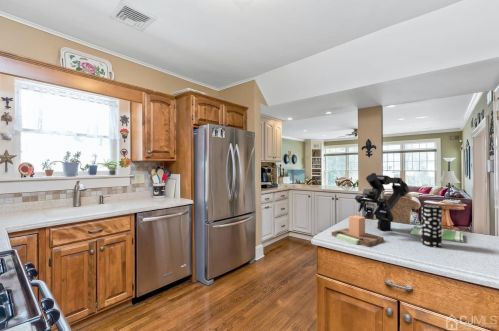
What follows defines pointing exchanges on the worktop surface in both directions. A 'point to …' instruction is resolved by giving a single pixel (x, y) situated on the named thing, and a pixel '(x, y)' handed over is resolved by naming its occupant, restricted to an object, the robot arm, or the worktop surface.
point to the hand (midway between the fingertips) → (365, 212)
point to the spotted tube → (431, 226)
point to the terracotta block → (357, 225)
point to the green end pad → (347, 239)
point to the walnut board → (363, 240)
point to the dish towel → (446, 234)
